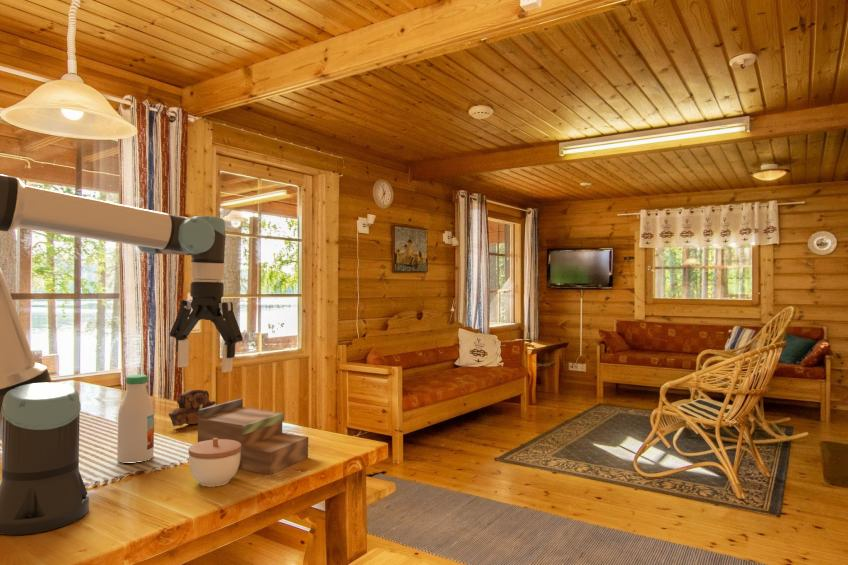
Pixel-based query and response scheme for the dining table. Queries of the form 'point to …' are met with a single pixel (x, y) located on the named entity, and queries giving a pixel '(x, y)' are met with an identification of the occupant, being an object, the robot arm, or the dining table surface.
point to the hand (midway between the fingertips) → (204, 369)
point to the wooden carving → (190, 407)
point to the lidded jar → (214, 461)
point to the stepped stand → (253, 435)
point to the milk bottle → (135, 422)
